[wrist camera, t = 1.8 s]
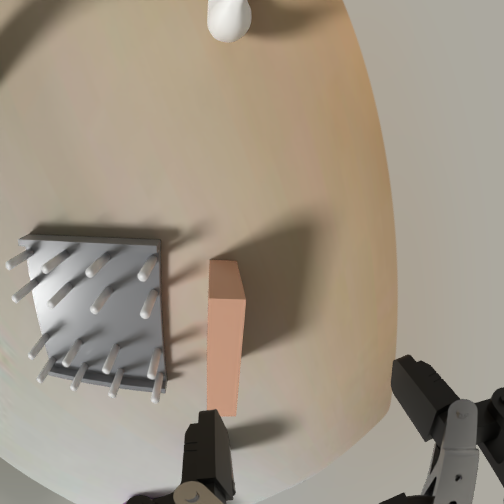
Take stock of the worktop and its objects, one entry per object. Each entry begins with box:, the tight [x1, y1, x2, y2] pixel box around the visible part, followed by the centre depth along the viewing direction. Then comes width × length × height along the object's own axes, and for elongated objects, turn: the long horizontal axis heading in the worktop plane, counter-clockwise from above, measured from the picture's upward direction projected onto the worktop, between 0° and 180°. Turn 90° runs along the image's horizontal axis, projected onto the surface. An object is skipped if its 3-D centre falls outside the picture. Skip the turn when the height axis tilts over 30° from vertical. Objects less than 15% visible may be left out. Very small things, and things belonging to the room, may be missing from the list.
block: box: [207, 260, 246, 416], centre depth 30 cm, size 14×3×10 cm, turn 175°
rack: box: [6, 234, 167, 403], centre depth 30 cm, size 18×20×6 cm
